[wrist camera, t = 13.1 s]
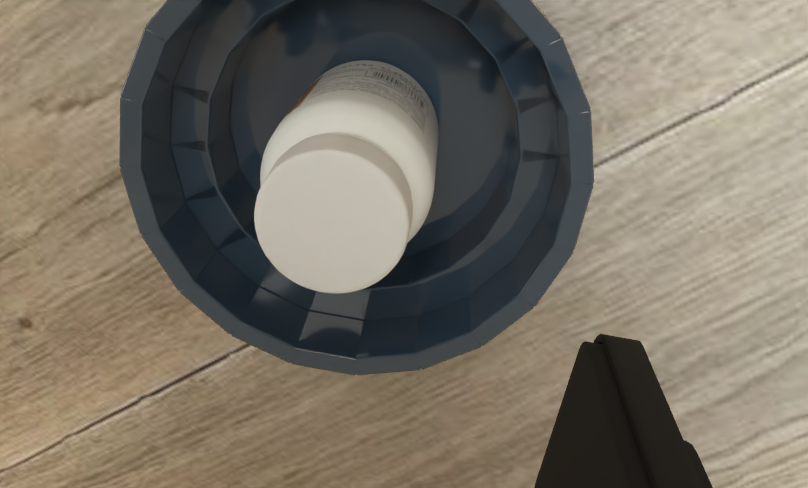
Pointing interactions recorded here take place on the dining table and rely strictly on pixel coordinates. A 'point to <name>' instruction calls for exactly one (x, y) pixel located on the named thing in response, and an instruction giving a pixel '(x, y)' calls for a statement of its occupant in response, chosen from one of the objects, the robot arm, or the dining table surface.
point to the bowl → (454, 178)
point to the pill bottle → (348, 177)
